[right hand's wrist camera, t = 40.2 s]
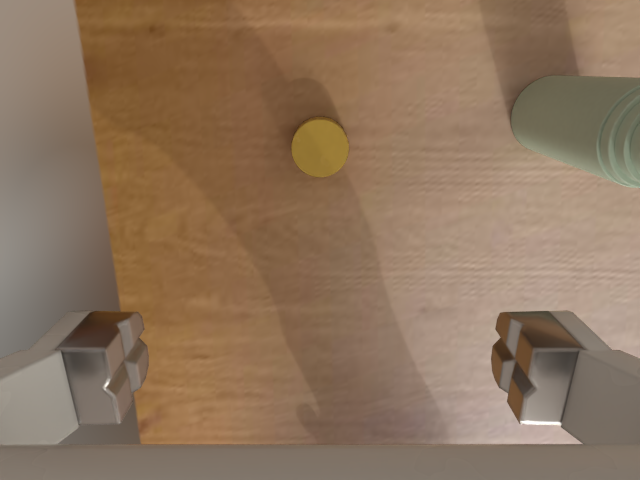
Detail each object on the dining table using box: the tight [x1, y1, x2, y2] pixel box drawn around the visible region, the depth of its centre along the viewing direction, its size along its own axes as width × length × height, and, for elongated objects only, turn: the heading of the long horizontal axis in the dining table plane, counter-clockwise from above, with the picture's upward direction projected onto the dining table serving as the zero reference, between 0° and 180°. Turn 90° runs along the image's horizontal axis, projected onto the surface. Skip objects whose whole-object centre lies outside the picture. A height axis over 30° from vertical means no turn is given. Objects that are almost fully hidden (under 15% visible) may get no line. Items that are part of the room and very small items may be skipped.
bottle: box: [511, 75, 640, 188], centre depth 28 cm, size 6×6×19 cm
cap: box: [291, 116, 349, 177], centre depth 37 cm, size 5×5×2 cm
